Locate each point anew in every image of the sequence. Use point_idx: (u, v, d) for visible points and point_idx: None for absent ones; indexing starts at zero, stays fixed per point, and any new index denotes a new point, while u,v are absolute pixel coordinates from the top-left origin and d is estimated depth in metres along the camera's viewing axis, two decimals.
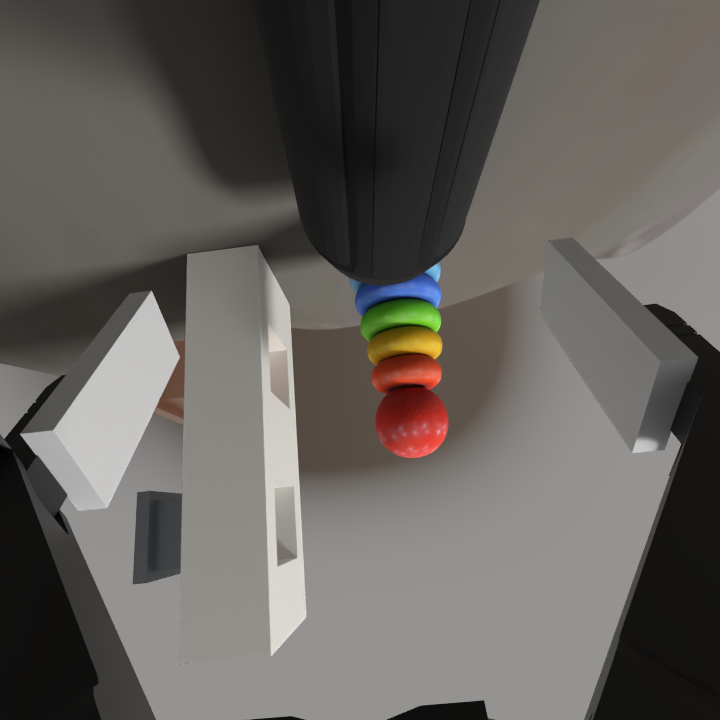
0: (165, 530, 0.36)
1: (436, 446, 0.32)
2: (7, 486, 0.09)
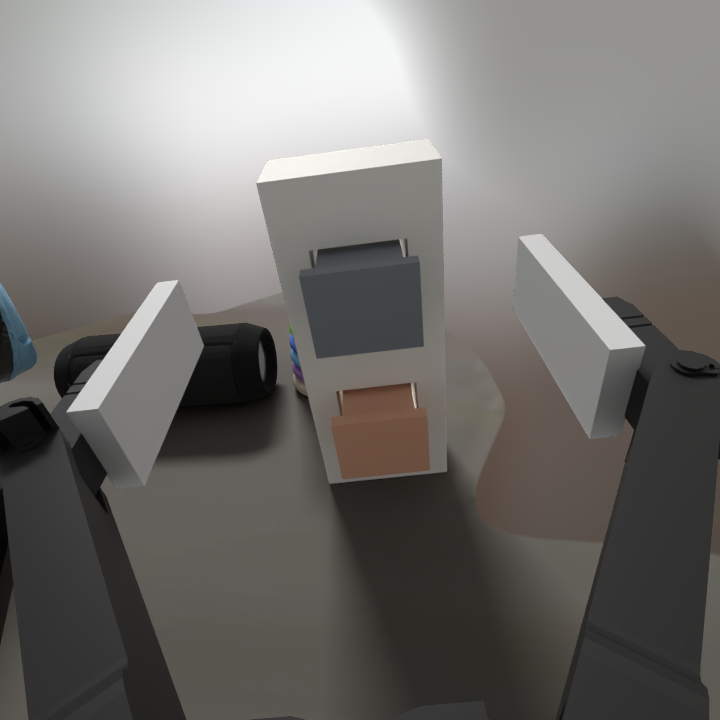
0: None
1: None
2: (53, 463, 0.10)
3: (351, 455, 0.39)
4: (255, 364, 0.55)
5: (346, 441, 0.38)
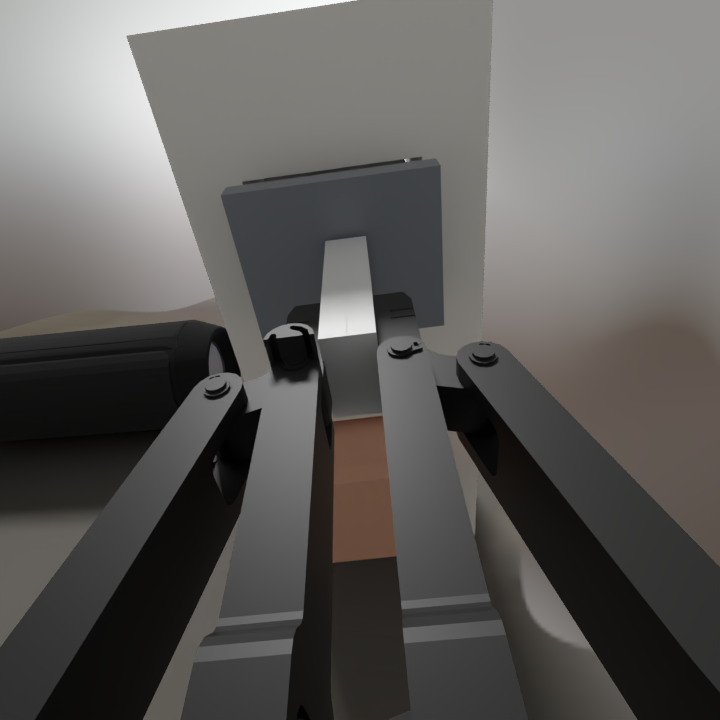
0: None
1: None
2: (305, 391, 0.10)
3: None
4: (203, 376, 0.40)
5: None
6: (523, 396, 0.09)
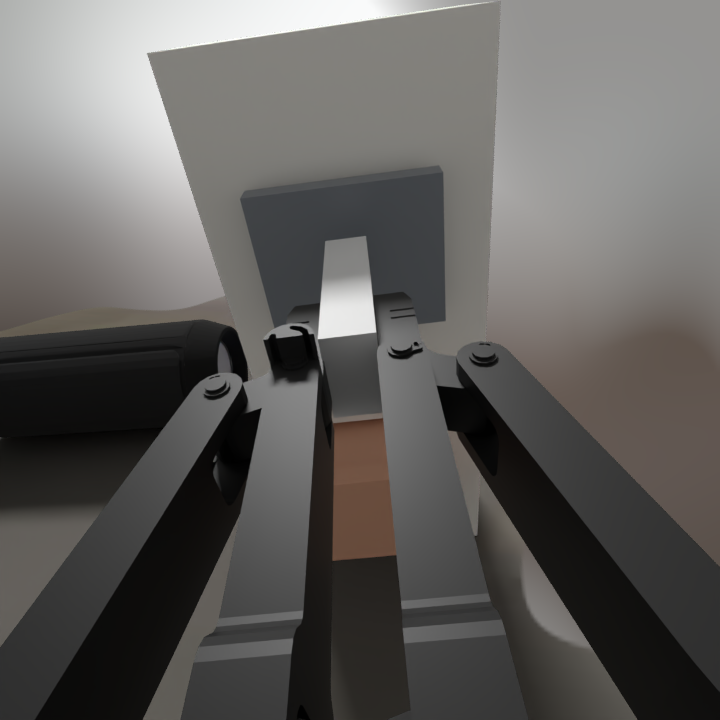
0: None
1: None
2: (304, 391, 0.10)
3: (335, 529, 0.25)
4: None
5: None
6: (523, 396, 0.09)
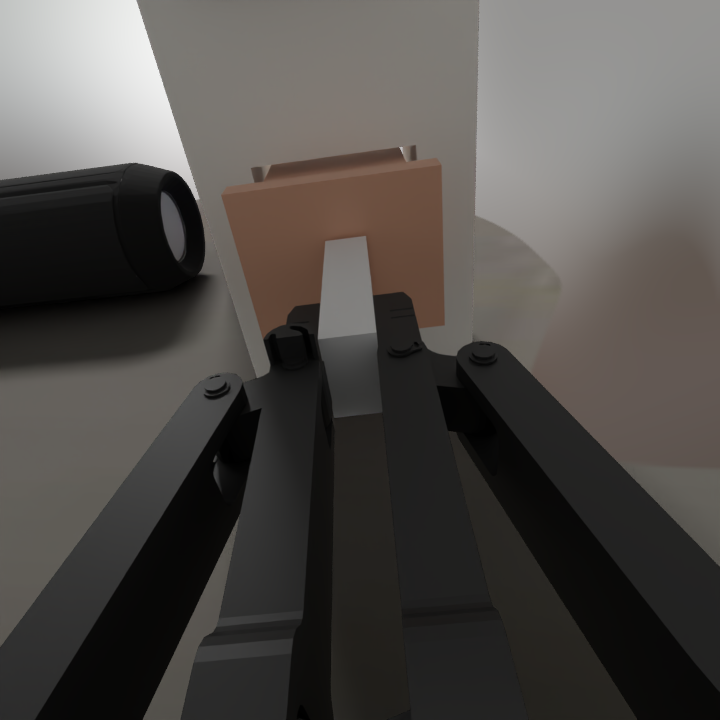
0: None
1: None
2: (304, 391, 0.10)
3: (277, 283, 0.18)
4: (154, 215, 0.34)
5: (260, 242, 0.17)
6: (523, 396, 0.09)
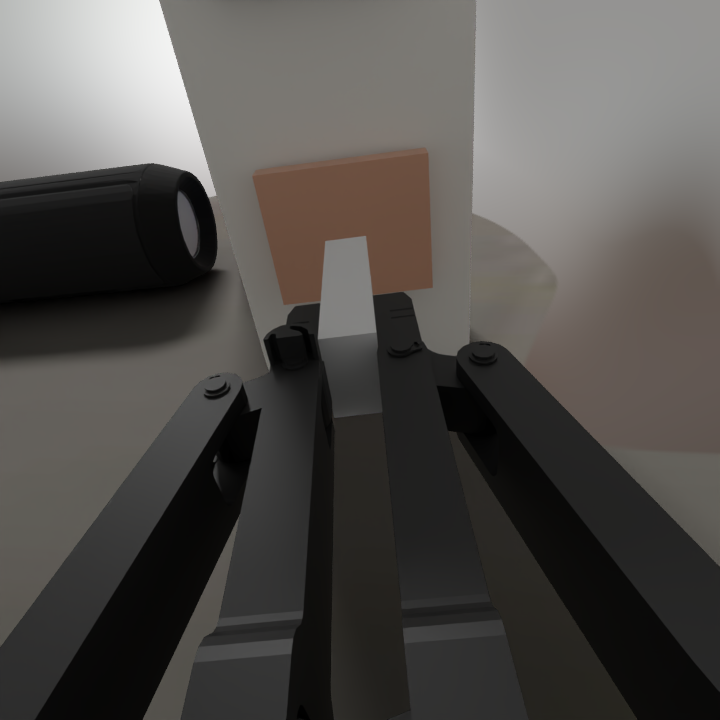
0: None
1: None
2: (304, 391, 0.10)
3: (295, 250, 0.22)
4: (171, 213, 0.36)
5: (282, 215, 0.21)
6: (523, 396, 0.09)
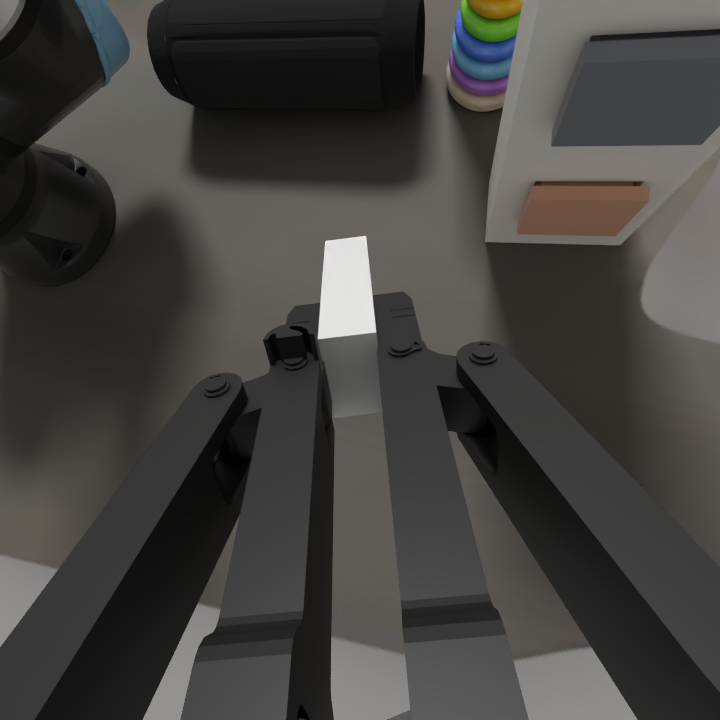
0: None
1: None
2: (305, 391, 0.10)
3: (538, 220, 0.36)
4: (410, 68, 0.42)
5: (539, 210, 0.35)
6: (523, 396, 0.09)
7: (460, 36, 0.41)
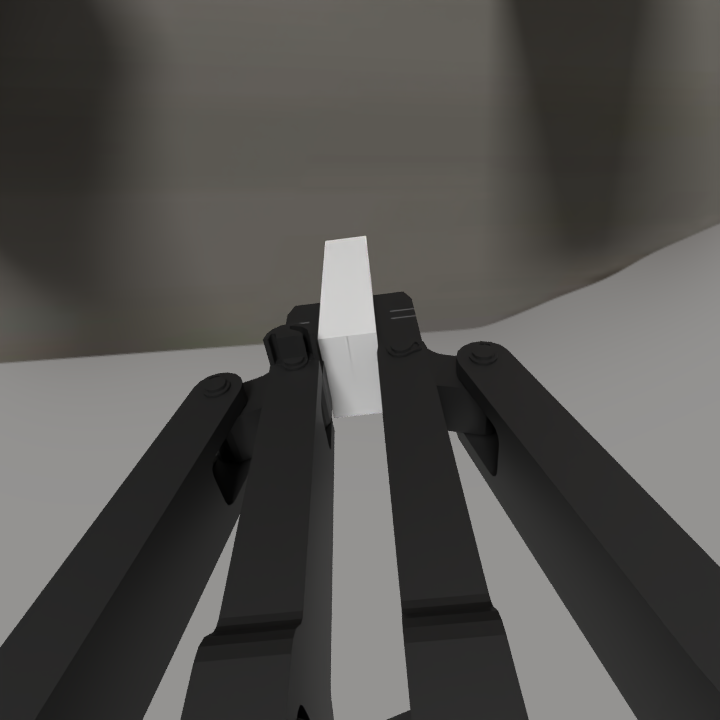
0: None
1: None
2: (304, 391, 0.10)
3: None
4: None
5: None
6: (523, 396, 0.09)
7: None
